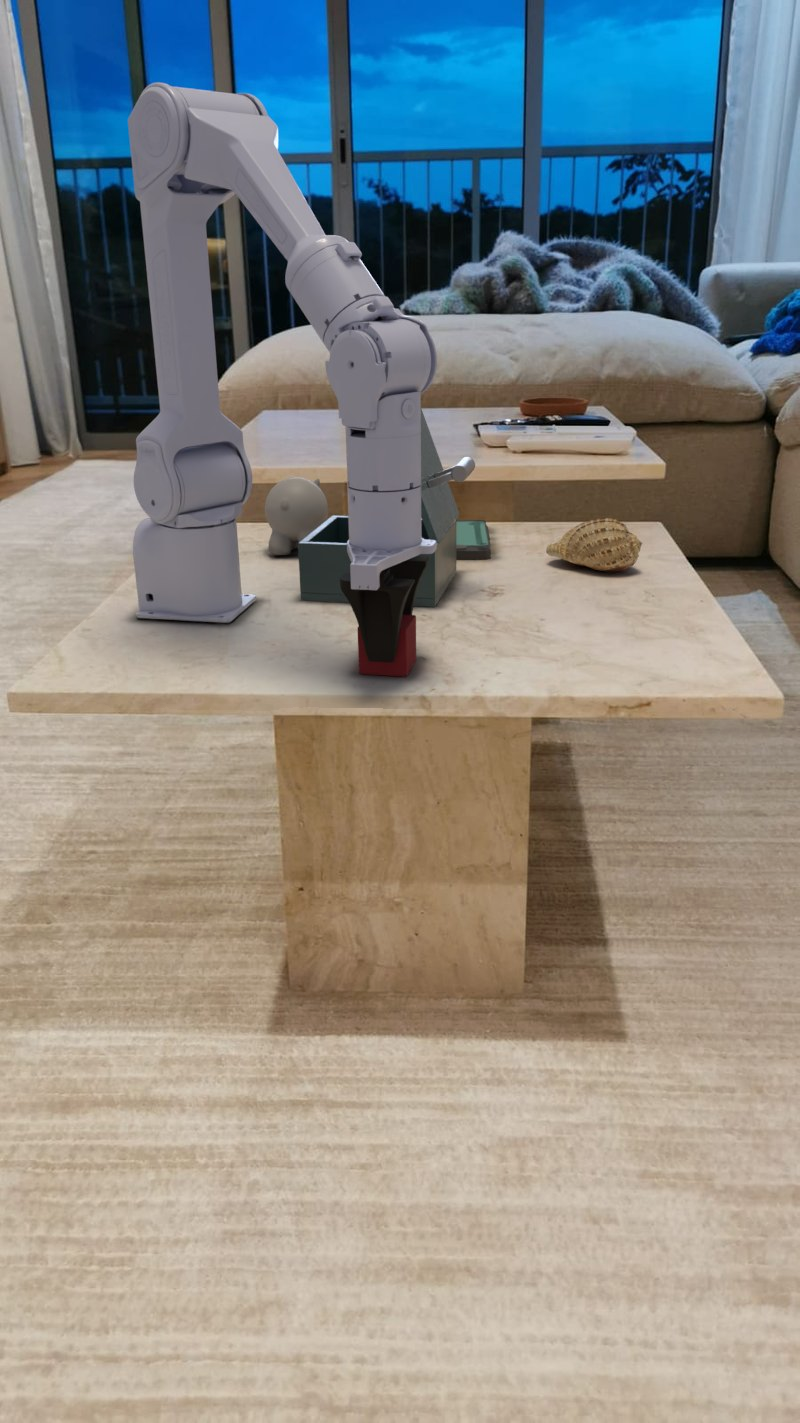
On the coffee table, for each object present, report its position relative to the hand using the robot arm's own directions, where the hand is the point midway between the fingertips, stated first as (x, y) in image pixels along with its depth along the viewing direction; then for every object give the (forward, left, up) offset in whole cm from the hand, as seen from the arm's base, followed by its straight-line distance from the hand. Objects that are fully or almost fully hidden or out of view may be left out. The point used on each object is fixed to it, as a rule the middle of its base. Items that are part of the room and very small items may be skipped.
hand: (387, 651), depth 88 cm
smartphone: (-1, +43, -2) cm, 43 cm away
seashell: (+15, +35, -2) cm, 38 cm away
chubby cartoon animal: (-19, +39, -2) cm, 43 cm away
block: (0, 0, -1) cm, 1 cm away
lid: (-2, +24, +11) cm, 26 cm away
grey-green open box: (-6, +24, -1) cm, 24 cm away
